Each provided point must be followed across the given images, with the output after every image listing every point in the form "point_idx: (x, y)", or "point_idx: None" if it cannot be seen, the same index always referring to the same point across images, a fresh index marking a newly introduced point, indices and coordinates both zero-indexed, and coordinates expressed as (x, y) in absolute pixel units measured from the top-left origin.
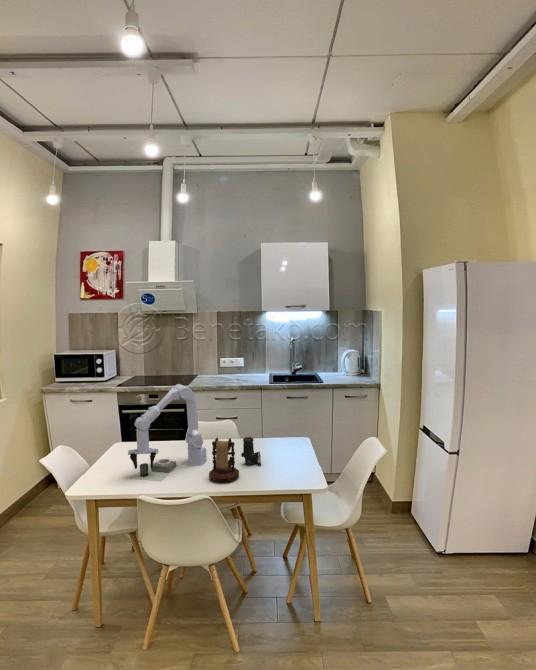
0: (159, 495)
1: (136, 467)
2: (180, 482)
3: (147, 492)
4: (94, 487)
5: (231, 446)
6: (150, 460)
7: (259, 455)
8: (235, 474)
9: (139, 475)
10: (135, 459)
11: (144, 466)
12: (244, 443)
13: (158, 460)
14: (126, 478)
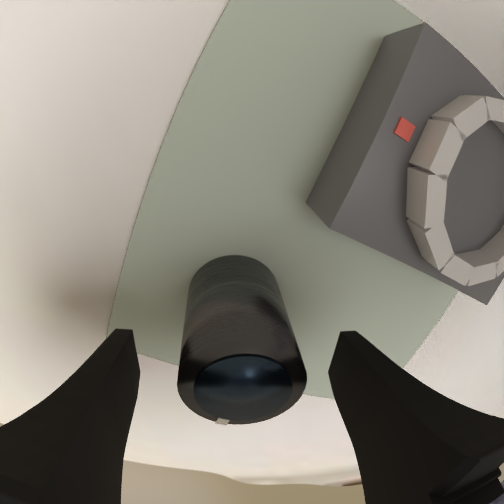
0: (338, 478)
1: (135, 376)
2: (458, 385)
3: (284, 470)
4: None
5: None
6: (361, 474)
7: None
8: None
9: (178, 294)
10: (113, 492)
11: (257, 418)
12: None
13: (450, 139)
14: (67, 307)
